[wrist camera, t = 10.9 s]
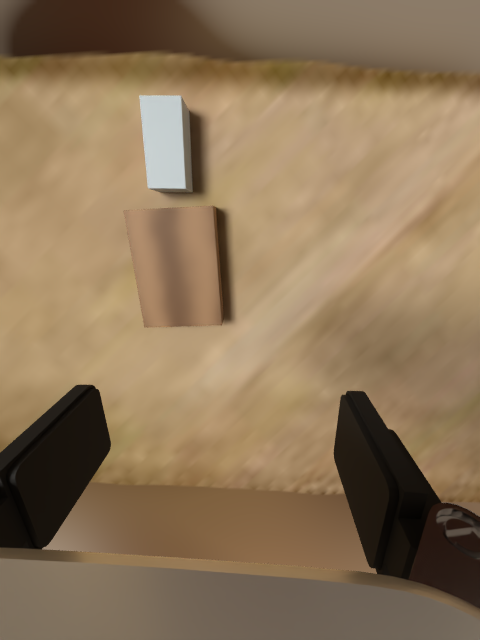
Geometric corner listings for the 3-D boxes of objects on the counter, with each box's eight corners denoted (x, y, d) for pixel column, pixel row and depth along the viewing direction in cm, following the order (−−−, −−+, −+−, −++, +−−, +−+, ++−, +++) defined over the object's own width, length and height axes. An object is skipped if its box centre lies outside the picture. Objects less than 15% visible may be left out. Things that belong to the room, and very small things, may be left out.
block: (193, 192, 32) (189, 109, 29) (185, 188, 28) (180, 92, 26) (159, 192, 32) (153, 108, 29) (147, 188, 28) (139, 92, 26)
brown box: (216, 207, 32) (212, 205, 30) (223, 317, 37) (221, 324, 34) (134, 211, 33) (123, 210, 30) (152, 319, 38) (144, 327, 35)
